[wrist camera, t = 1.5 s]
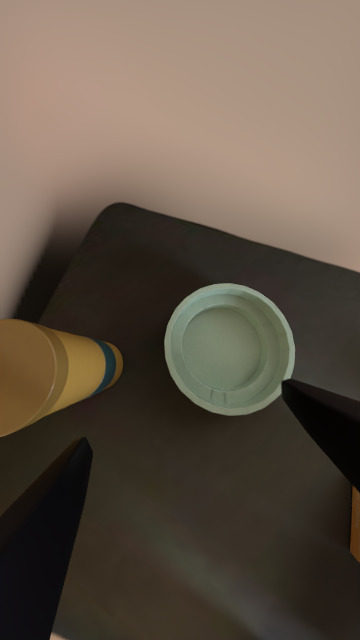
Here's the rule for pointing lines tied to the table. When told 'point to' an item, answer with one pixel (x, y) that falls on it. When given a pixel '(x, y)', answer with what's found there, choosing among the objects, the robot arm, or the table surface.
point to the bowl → (229, 349)
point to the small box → (355, 525)
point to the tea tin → (49, 371)
